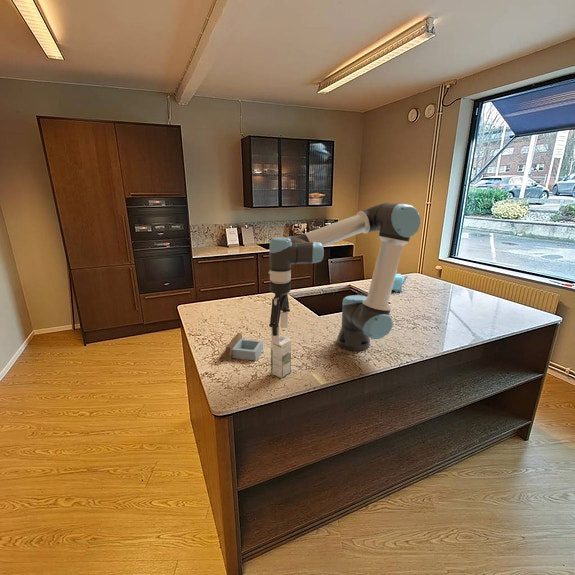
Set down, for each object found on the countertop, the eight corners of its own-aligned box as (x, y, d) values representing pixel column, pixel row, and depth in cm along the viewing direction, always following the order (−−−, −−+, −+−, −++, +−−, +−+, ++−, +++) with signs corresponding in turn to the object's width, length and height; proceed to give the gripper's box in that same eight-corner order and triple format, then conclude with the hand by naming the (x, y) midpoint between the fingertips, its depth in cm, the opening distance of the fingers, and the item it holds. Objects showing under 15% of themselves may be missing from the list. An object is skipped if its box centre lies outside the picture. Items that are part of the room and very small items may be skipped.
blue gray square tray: (262, 349, 145) (262, 340, 144) (255, 360, 136) (255, 351, 134) (241, 346, 147) (240, 338, 146) (232, 357, 138) (232, 349, 137)
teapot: (383, 293, 223) (385, 275, 219) (381, 286, 238) (382, 269, 234) (410, 294, 220) (412, 276, 216) (406, 287, 235) (408, 270, 231)
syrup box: (280, 367, 130) (279, 335, 126) (291, 372, 127) (291, 339, 123) (270, 373, 126) (270, 340, 122) (282, 379, 123) (281, 344, 118)
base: (242, 345, 149) (241, 333, 147) (230, 360, 136) (230, 347, 134) (232, 344, 150) (231, 332, 148) (219, 358, 137) (219, 346, 135)
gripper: (278, 272, 128) (278, 321, 134) (259, 290, 105) (260, 348, 111) (297, 273, 126) (296, 323, 132) (282, 292, 103) (281, 351, 109)
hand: (280, 334), depth 122 cm, fingers open, 13 cm apart
